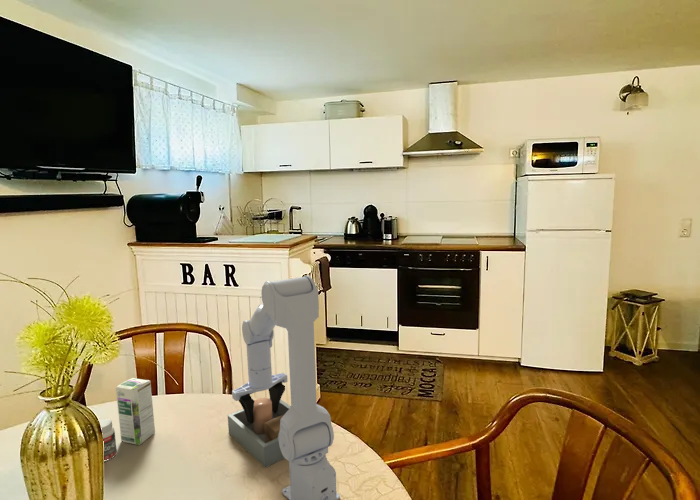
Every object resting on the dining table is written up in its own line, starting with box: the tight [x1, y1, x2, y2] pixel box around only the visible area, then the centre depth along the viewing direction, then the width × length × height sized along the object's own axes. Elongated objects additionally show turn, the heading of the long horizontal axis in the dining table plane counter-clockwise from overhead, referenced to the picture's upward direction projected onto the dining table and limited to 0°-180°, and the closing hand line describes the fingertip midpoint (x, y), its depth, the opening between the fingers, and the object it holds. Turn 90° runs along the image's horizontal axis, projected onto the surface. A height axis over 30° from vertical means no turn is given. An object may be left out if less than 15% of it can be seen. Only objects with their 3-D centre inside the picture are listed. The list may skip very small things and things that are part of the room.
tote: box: [227, 398, 291, 468], centre depth 105 cm, size 18×14×5 cm
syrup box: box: [115, 377, 156, 446], centre depth 106 cm, size 6×6×14 cm
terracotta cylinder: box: [253, 397, 273, 434], centre depth 108 cm, size 5×5×7 cm
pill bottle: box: [98, 418, 118, 460], centre depth 99 cm, size 5×5×8 cm
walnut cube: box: [264, 415, 283, 443], centre depth 102 cm, size 5×5×5 cm
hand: (262, 416), depth 108 cm, fingers open, 6 cm apart
